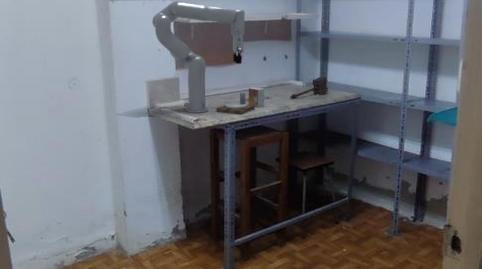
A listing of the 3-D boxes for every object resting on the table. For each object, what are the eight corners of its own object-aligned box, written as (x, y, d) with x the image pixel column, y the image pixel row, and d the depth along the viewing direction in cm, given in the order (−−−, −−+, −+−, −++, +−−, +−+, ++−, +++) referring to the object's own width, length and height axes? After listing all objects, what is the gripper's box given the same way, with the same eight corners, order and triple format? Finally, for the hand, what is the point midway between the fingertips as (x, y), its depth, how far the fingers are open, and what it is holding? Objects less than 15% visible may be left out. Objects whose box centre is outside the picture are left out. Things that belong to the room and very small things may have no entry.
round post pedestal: (239, 109, 275) (239, 96, 274) (221, 107, 281) (221, 94, 280) (250, 105, 285) (250, 93, 284) (232, 104, 291) (232, 91, 289)
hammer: (328, 91, 336) (327, 77, 332) (295, 107, 317) (294, 92, 313) (321, 90, 341) (319, 76, 337) (288, 105, 322) (286, 91, 318)
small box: (248, 105, 298) (248, 88, 296) (254, 104, 302) (254, 87, 299) (258, 107, 293) (258, 89, 290) (264, 106, 296) (264, 88, 294)
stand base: (216, 111, 281) (216, 107, 280) (230, 106, 294) (230, 103, 294) (241, 114, 273) (241, 110, 273) (254, 109, 287) (254, 105, 286)
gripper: (246, 32, 273) (246, 64, 277) (241, 31, 290) (241, 60, 294) (233, 32, 272) (233, 64, 276) (229, 31, 288) (228, 60, 293)
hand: (237, 62), depth 285 cm, fingers open, 9 cm apart
